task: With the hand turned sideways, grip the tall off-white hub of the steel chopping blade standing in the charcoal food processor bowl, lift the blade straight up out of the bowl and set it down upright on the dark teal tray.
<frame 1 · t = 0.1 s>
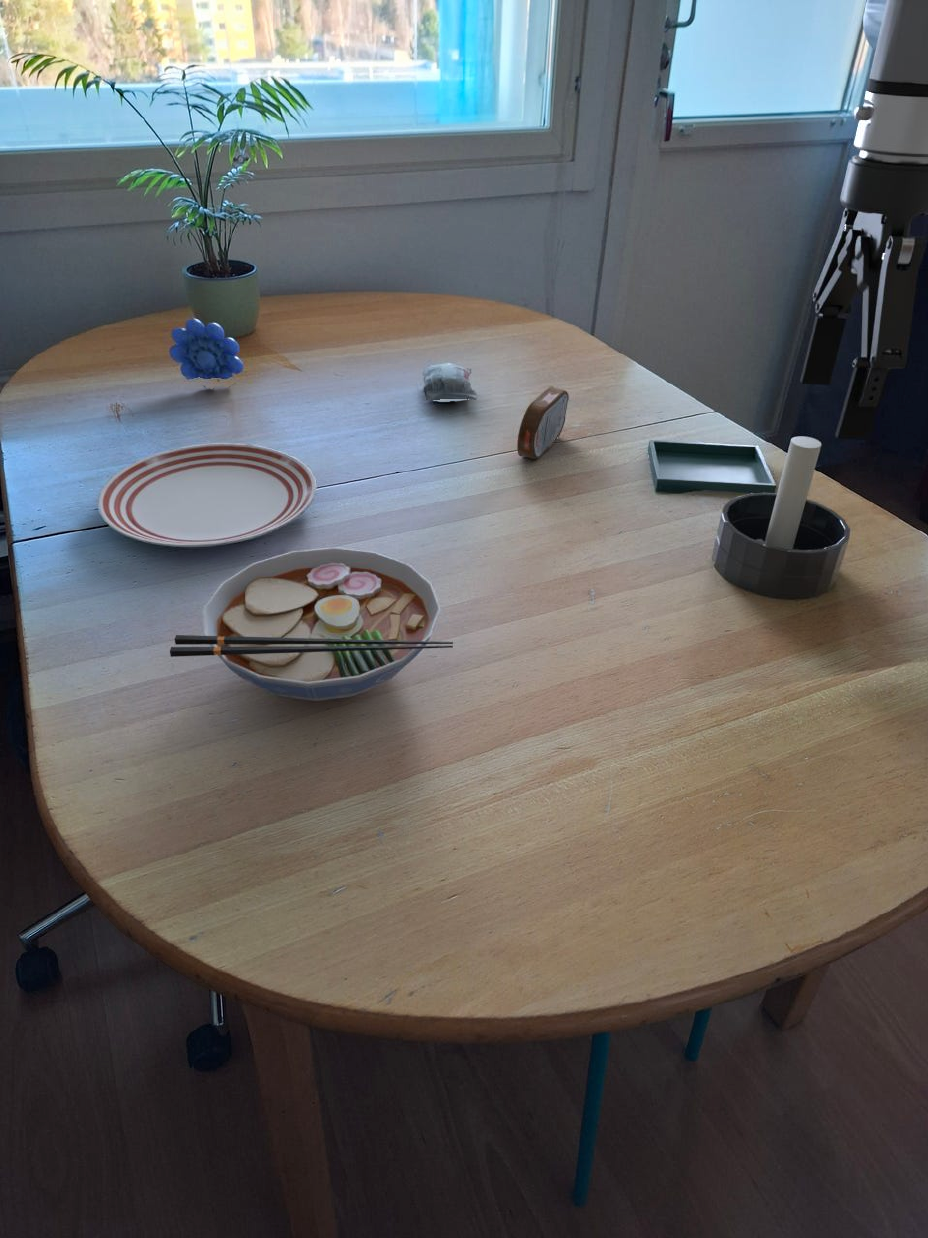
hand: (831, 408, 82), 25 cm above the table, tool pointing down, fingers open, 13 cm apart
ramen bowl: (328, 668, 89), on the table
processor bowl: (771, 571, 105), on the table
blue flower rosette: (211, 392, 149), on the table
dinner plate: (213, 510, 115), on the table
blade: (773, 566, 105), point 1 cm above the table, touching processor bowl
packaged food: (449, 398, 149), on the table
tin: (542, 449, 133), on the table
tray: (707, 474, 126), on the table
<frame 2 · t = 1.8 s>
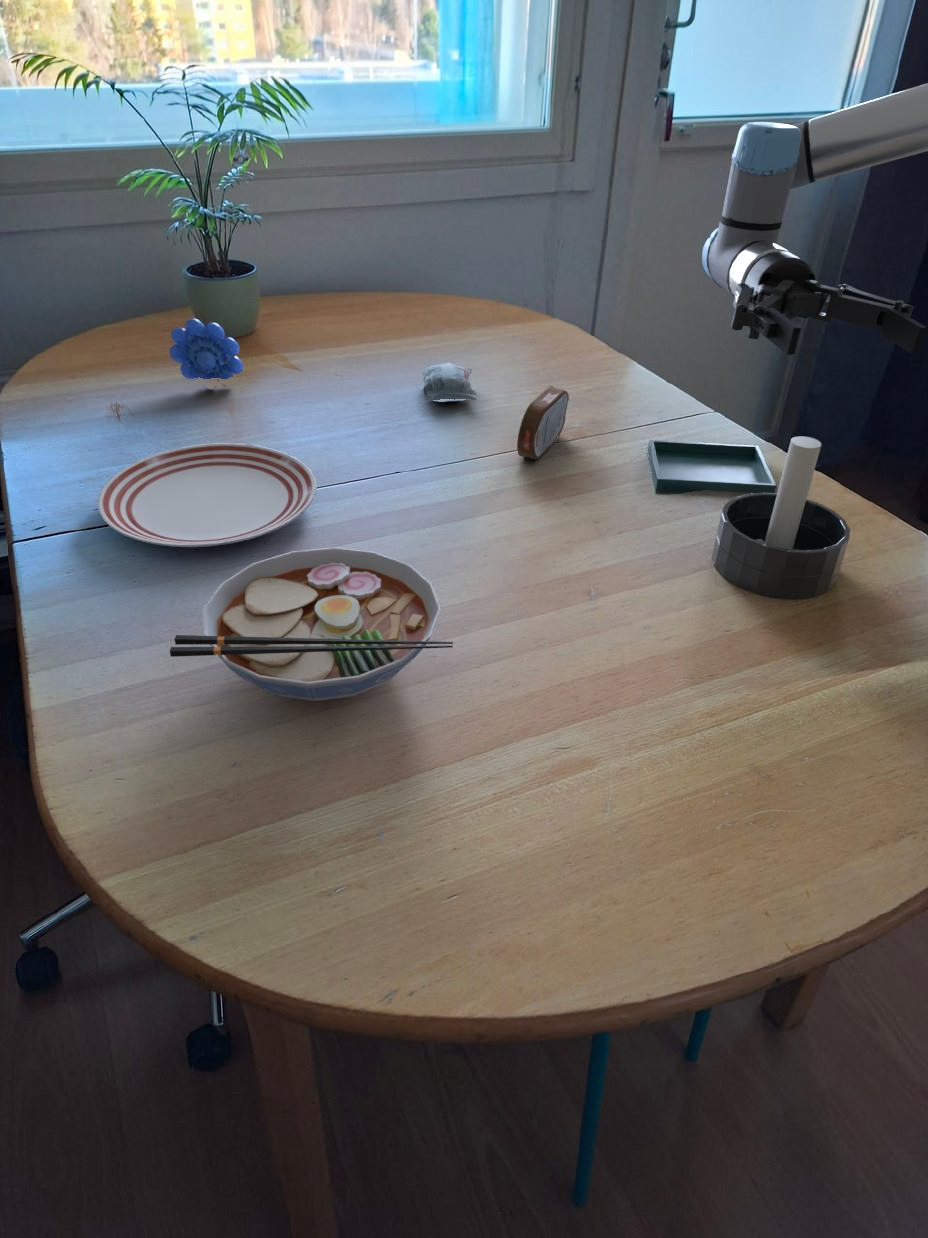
hand: (857, 341, 88), 28 cm above the table, tool horizontal, fingers open, 13 cm apart
nothing on the table moved.
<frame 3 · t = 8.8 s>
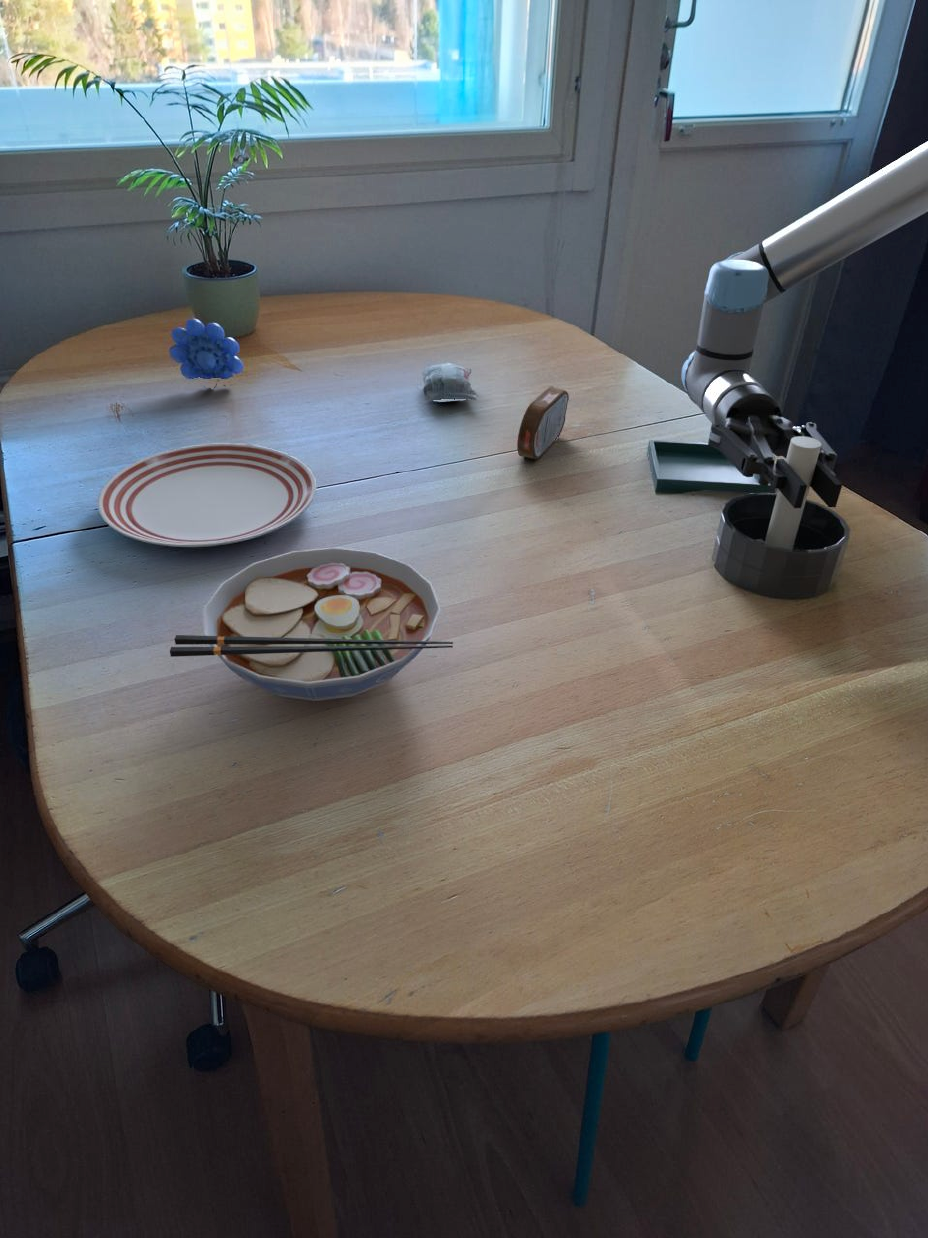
hand: (818, 496, 93), 13 cm above the table, tool horizontal, fingers closed on blade, 3 cm apart
blade: (773, 566, 105), point 1 cm above the table, touching gripper, processor bowl
everything else where it was.
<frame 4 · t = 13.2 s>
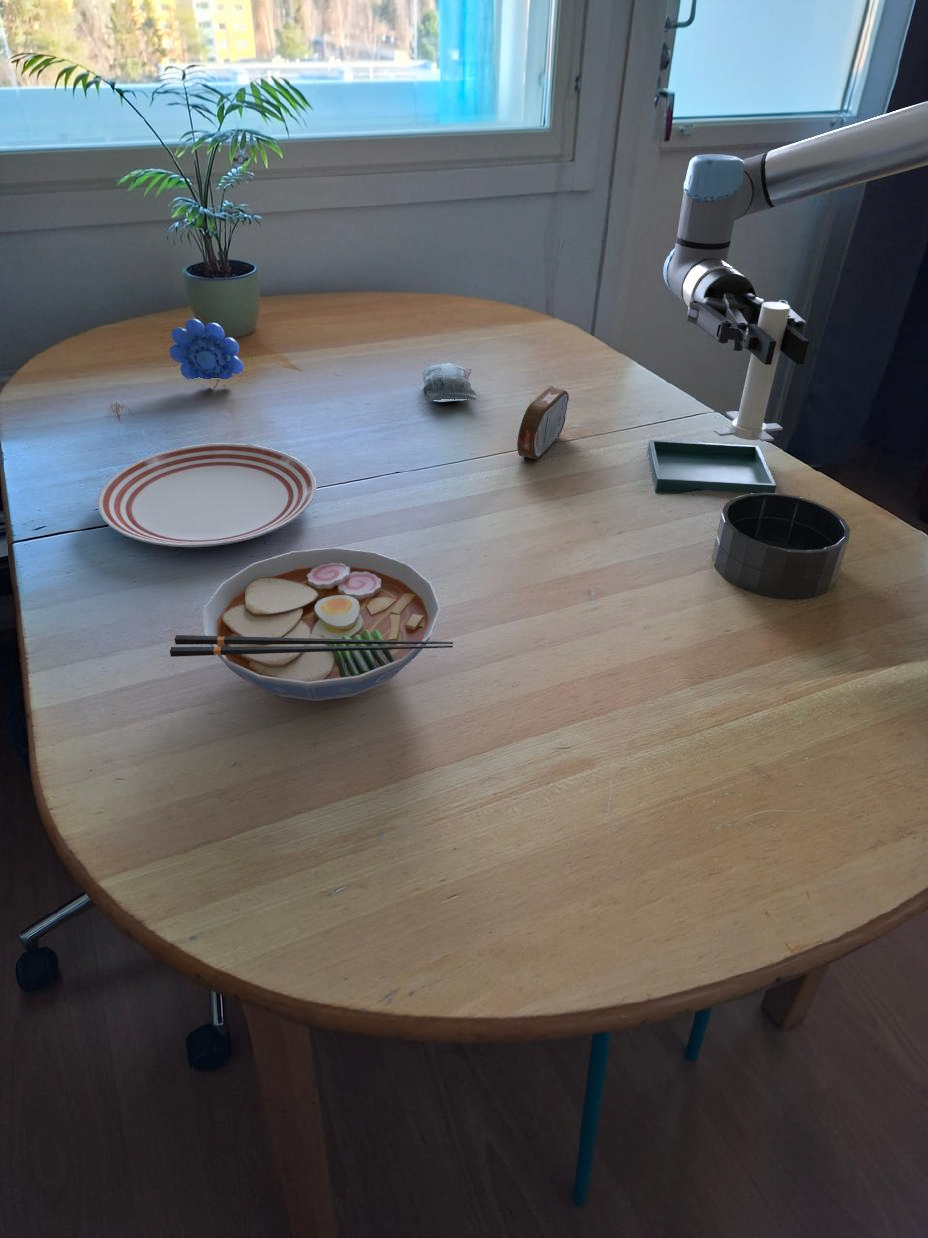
hand: (786, 352, 100), 23 cm above the table, tool horizontal, fingers closed on blade, 3 cm apart
blade: (747, 433, 112), point 11 cm above the table, touching gripper
everything else where it was.
when the fingers open (13 cm above the table, at t = 17.5 s): blade stays where it is, resting on tray.
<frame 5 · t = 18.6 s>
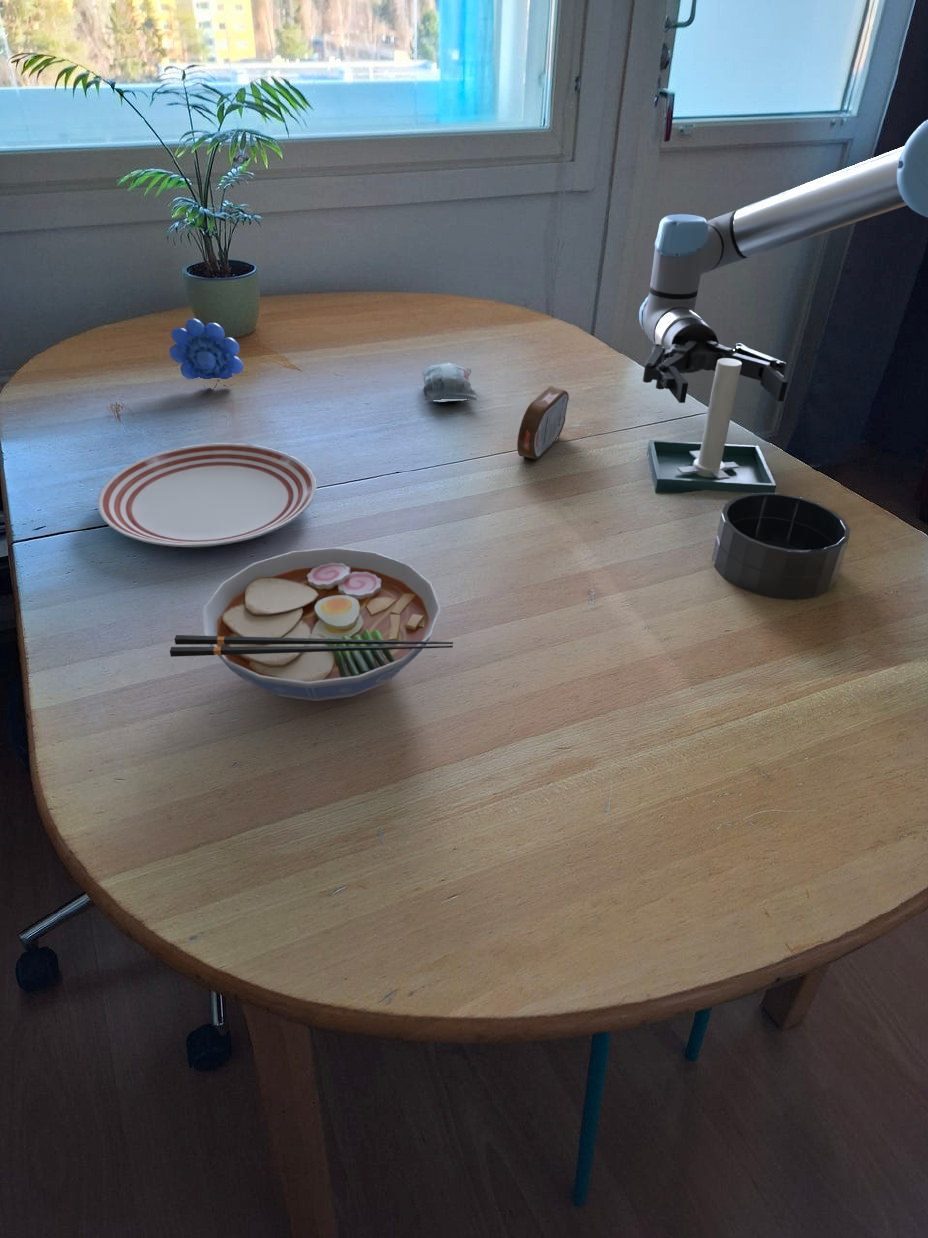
hand: (733, 392, 116), 14 cm above the table, tool horizontal, fingers open, 13 cm apart
blade: (707, 470, 126), point 1 cm above the table, touching tray
everything else where it was.
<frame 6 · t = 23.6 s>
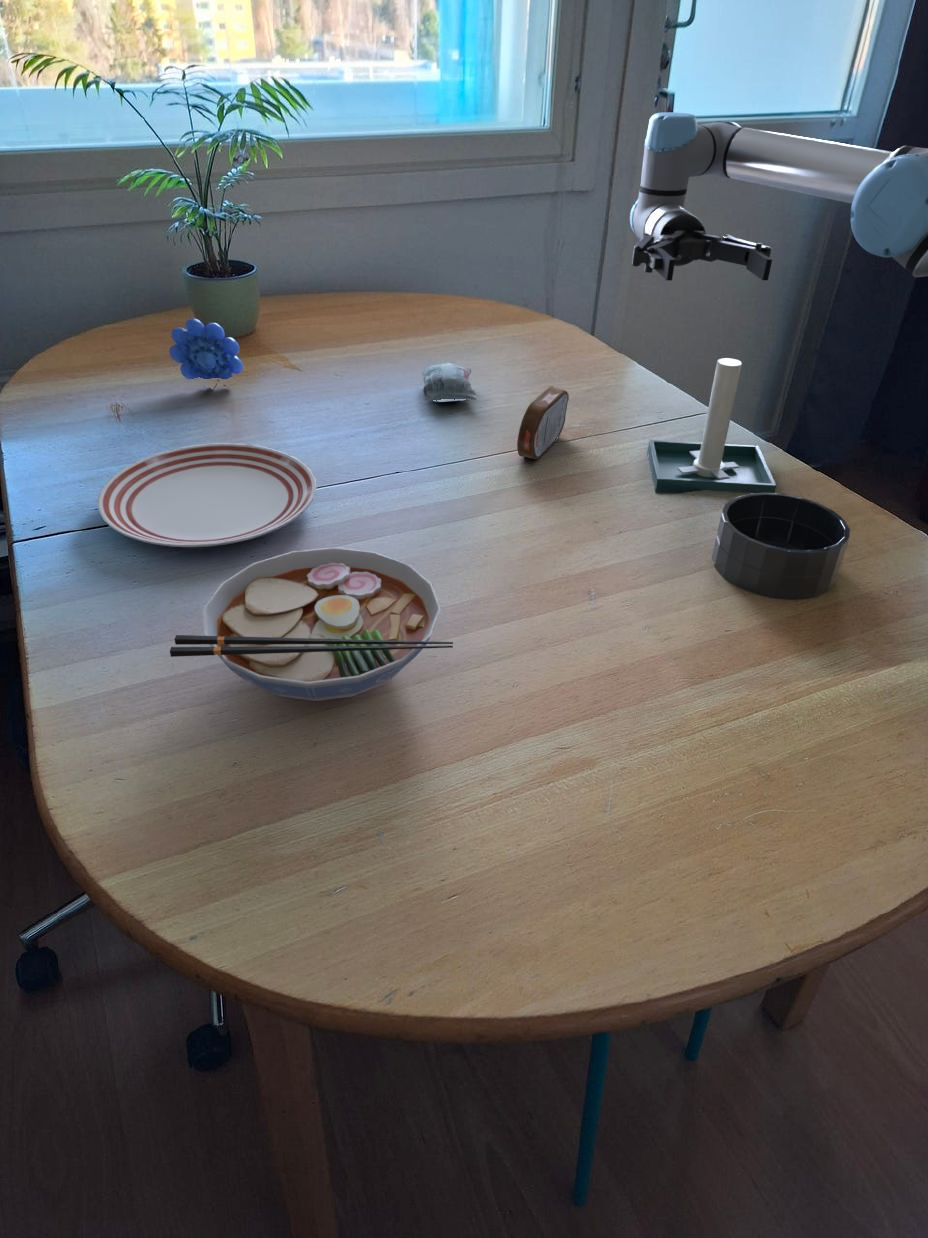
hand: (719, 270, 119), 26 cm above the table, tool horizontal, fingers open, 13 cm apart
nothing on the table moved.
at the end: blade inside the target area in the tray (0.0 cm from its centre), point 0.6 cm above the tray's base; blade tilted 0° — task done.
